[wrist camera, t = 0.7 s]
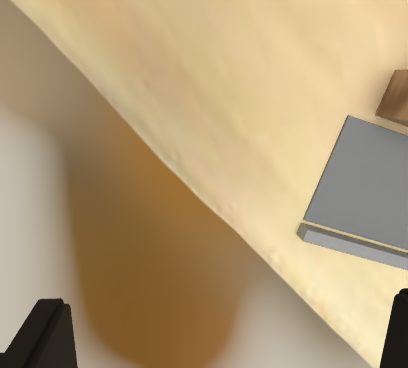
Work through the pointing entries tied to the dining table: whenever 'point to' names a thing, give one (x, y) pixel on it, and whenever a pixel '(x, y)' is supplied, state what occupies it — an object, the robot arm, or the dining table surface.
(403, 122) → the walnut block
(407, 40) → the dining table surface
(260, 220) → the dining table surface
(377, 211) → the mat
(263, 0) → the dining table surface
